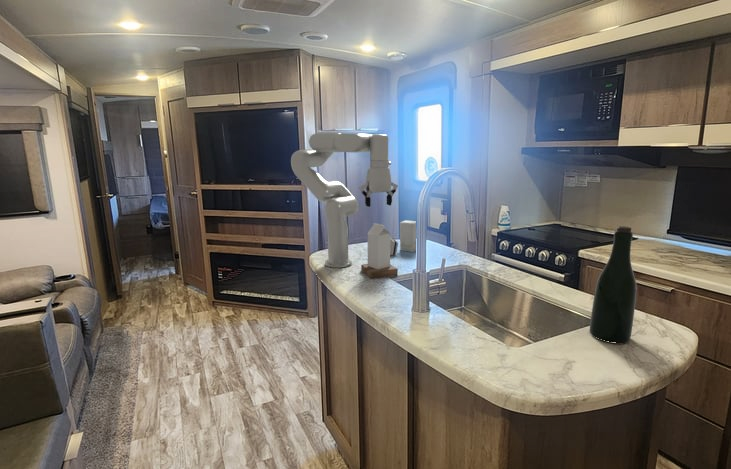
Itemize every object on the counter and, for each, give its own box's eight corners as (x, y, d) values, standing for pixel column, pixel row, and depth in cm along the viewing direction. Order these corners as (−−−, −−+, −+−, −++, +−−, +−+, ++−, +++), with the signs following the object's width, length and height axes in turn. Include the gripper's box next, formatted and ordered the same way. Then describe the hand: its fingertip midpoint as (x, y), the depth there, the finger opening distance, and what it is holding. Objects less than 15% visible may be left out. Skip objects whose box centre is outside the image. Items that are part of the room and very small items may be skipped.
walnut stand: (361, 271, 181) (361, 264, 180) (385, 267, 185) (385, 261, 185) (372, 279, 170) (372, 272, 169) (397, 275, 174) (397, 268, 174)
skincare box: (418, 250, 215) (419, 221, 212) (412, 252, 210) (413, 223, 207) (405, 247, 220) (406, 219, 217) (399, 250, 215) (399, 221, 212)
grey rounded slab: (368, 250, 215) (373, 232, 215) (375, 252, 218) (379, 234, 218) (388, 257, 202) (394, 238, 202) (395, 258, 205) (400, 239, 205)
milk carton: (377, 270, 172) (377, 226, 168) (367, 266, 178) (367, 224, 173) (390, 266, 177) (390, 224, 172) (379, 263, 182) (379, 221, 178)
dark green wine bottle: (632, 335, 119) (649, 226, 112) (627, 349, 111) (644, 232, 104) (593, 325, 126) (606, 221, 118) (585, 337, 118) (599, 227, 111)
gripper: (393, 163, 174) (392, 203, 178) (356, 164, 167) (356, 205, 171) (401, 164, 167) (400, 205, 171) (363, 165, 161) (363, 208, 164)
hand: (378, 205), depth 171 cm, fingers open, 9 cm apart
